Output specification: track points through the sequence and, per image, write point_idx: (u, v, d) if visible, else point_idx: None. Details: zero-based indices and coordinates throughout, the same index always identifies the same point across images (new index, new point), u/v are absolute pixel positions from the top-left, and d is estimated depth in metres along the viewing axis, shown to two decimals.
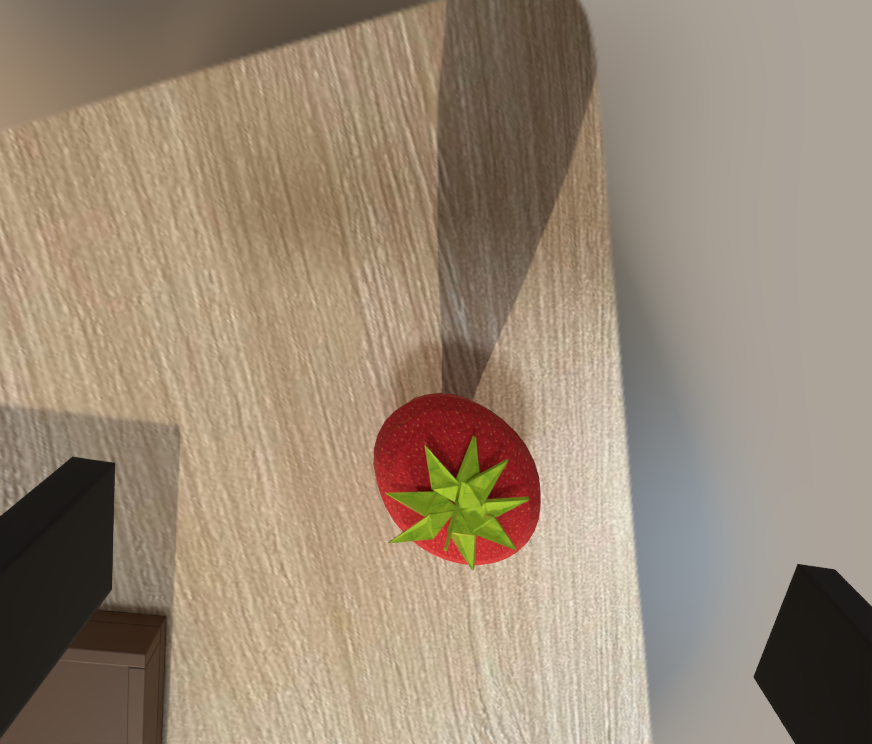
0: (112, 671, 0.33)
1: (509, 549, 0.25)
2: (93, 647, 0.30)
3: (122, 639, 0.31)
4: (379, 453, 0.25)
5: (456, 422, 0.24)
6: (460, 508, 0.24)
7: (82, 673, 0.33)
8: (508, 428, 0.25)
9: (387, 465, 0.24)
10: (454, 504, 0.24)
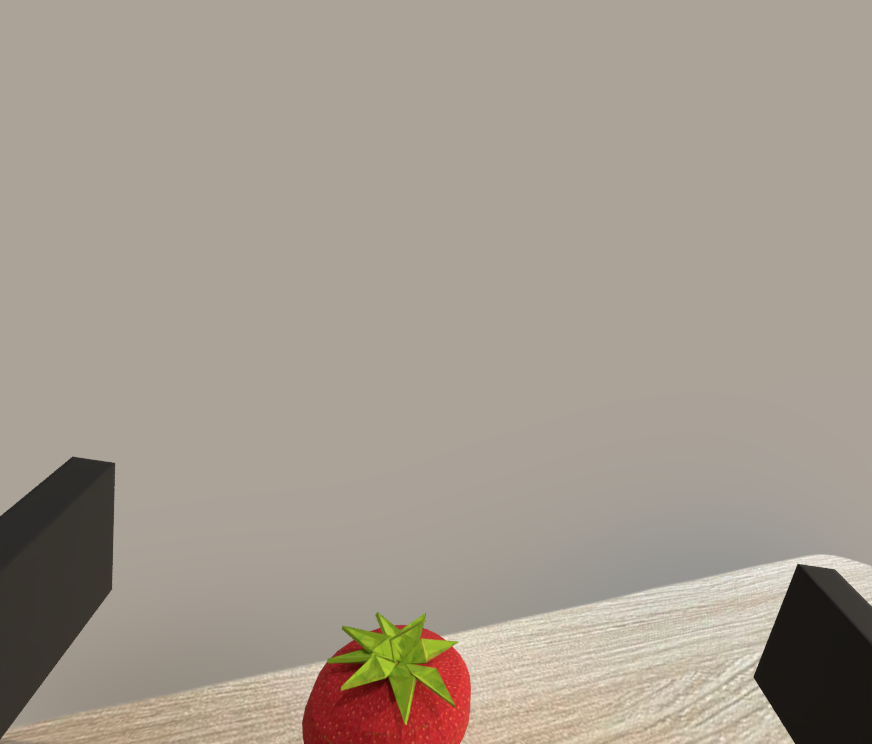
0: None
1: (436, 634, 0.27)
2: None
3: None
4: None
5: (320, 691, 0.24)
6: (401, 660, 0.25)
7: None
8: None
9: (380, 742, 0.22)
10: (398, 663, 0.24)
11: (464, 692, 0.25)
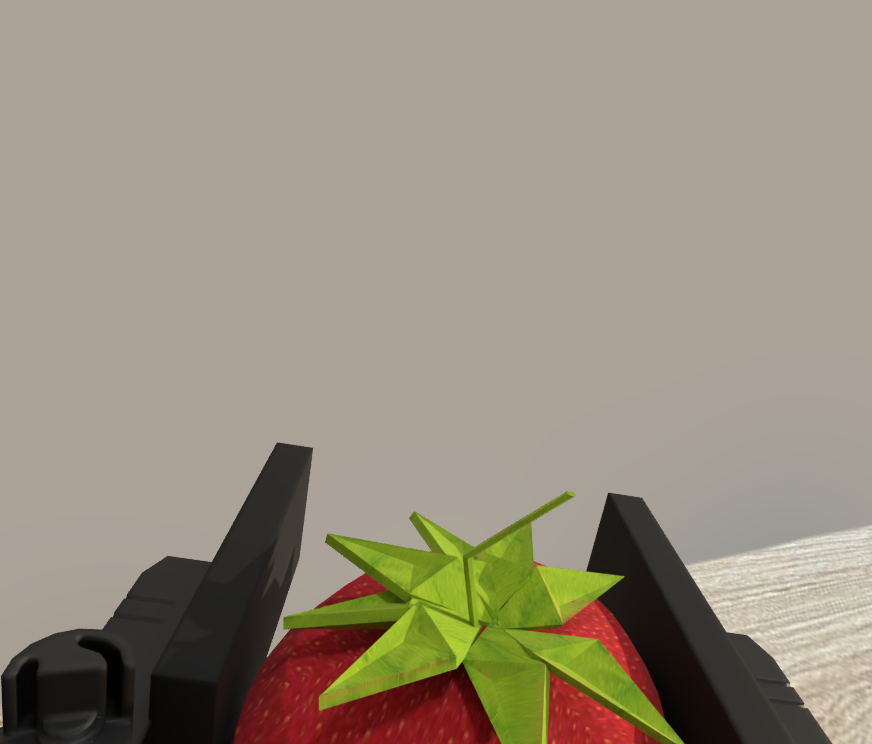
0: None
1: None
2: None
3: None
4: None
5: (262, 710, 0.08)
6: (490, 622, 0.09)
7: None
8: None
9: None
10: (484, 628, 0.09)
11: (655, 707, 0.09)
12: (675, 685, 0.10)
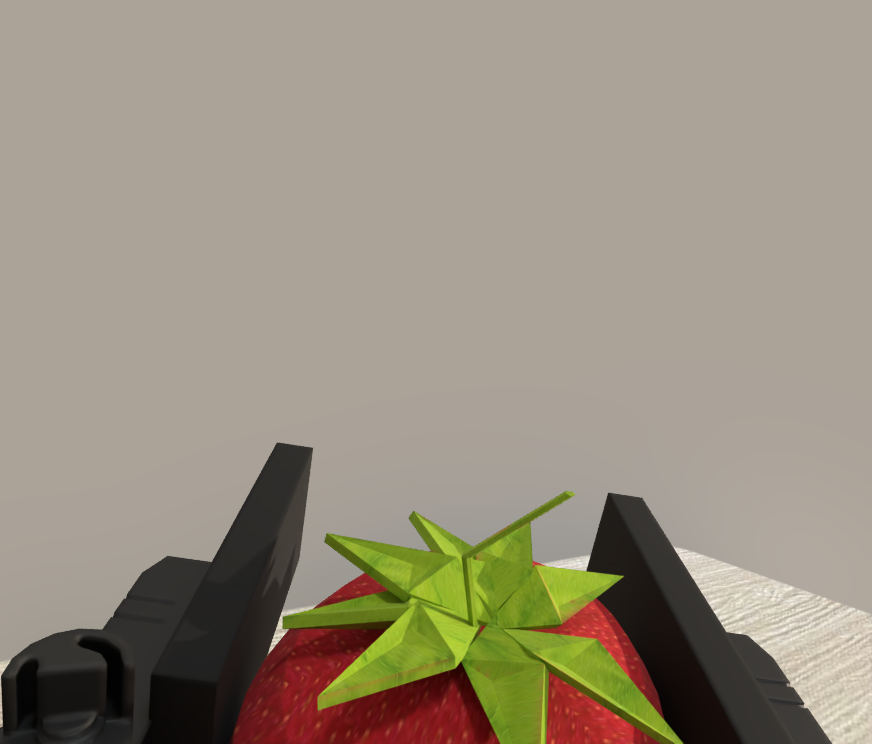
0: None
1: None
2: None
3: None
4: None
5: (261, 709, 0.08)
6: (489, 622, 0.09)
7: None
8: None
9: None
10: (484, 628, 0.09)
11: (654, 706, 0.09)
12: (675, 685, 0.10)
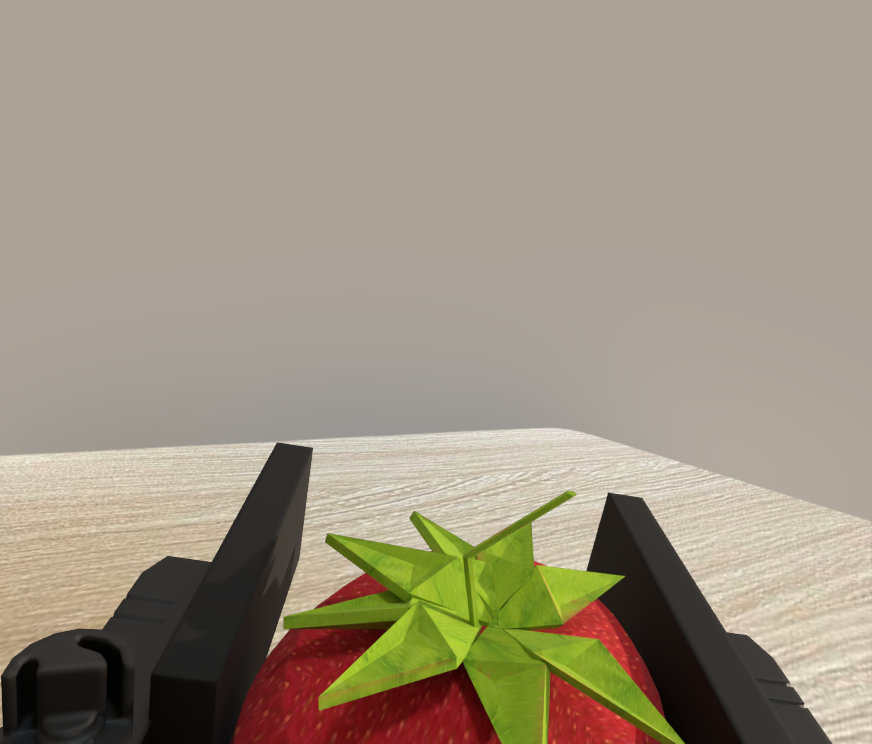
0: None
1: None
2: None
3: None
4: None
5: (262, 710, 0.08)
6: (491, 621, 0.09)
7: None
8: None
9: None
10: (485, 628, 0.09)
11: (656, 707, 0.09)
12: (675, 686, 0.10)
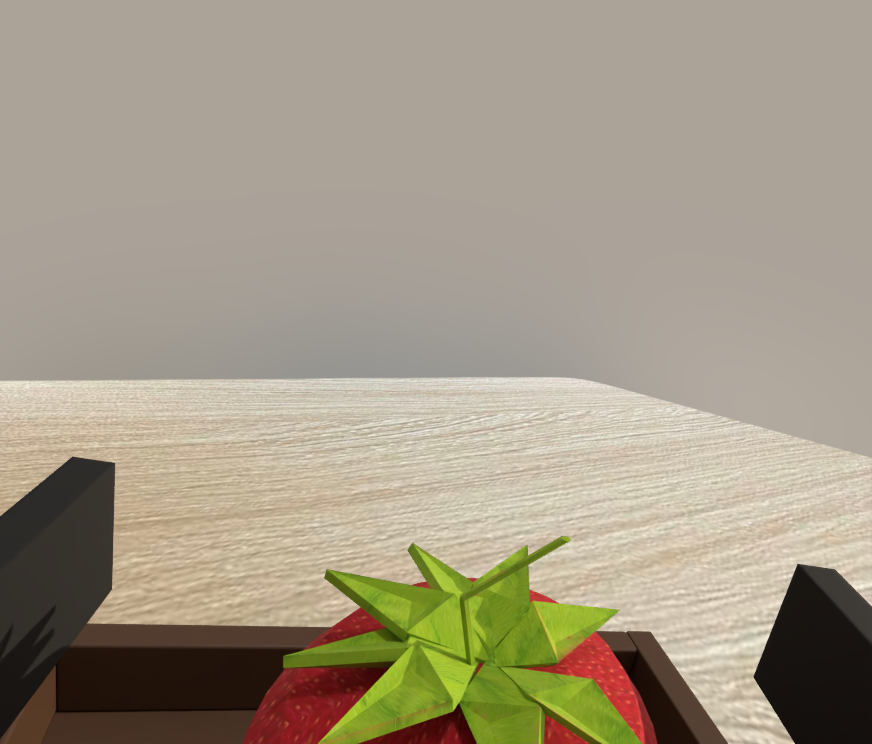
0: None
1: (546, 597, 0.12)
2: None
3: None
4: None
5: None
6: (486, 660, 0.09)
7: None
8: None
9: None
10: (481, 667, 0.09)
11: (650, 741, 0.09)
12: None
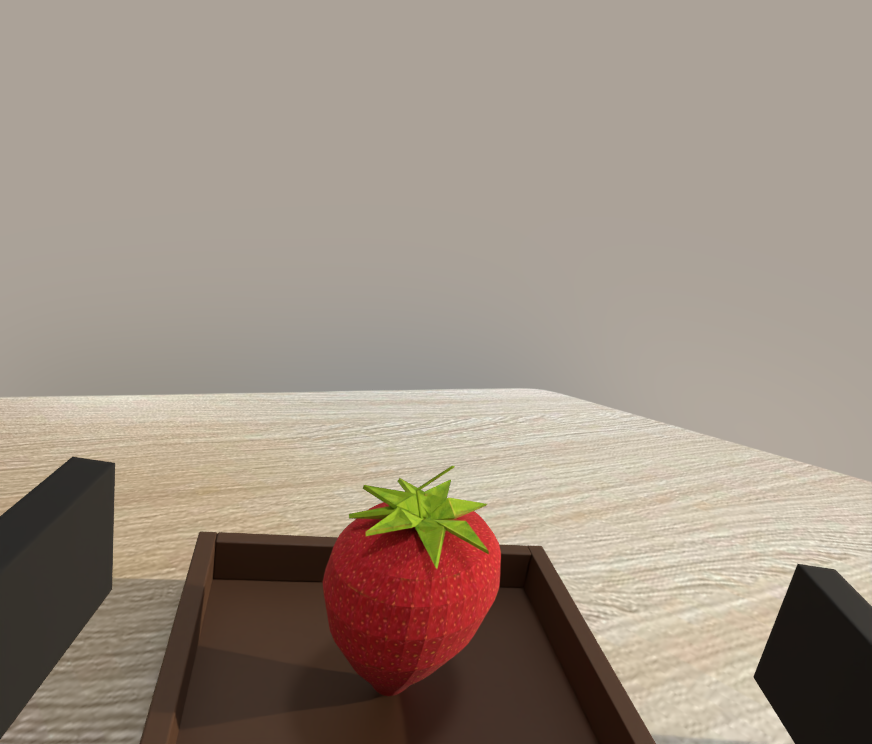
0: (258, 602, 0.29)
1: None
2: (190, 564, 0.28)
3: None
4: (401, 609, 0.20)
5: (342, 546, 0.22)
6: (427, 518, 0.23)
7: (262, 624, 0.28)
8: None
9: (408, 588, 0.20)
10: (425, 519, 0.23)
11: (495, 553, 0.23)
12: None
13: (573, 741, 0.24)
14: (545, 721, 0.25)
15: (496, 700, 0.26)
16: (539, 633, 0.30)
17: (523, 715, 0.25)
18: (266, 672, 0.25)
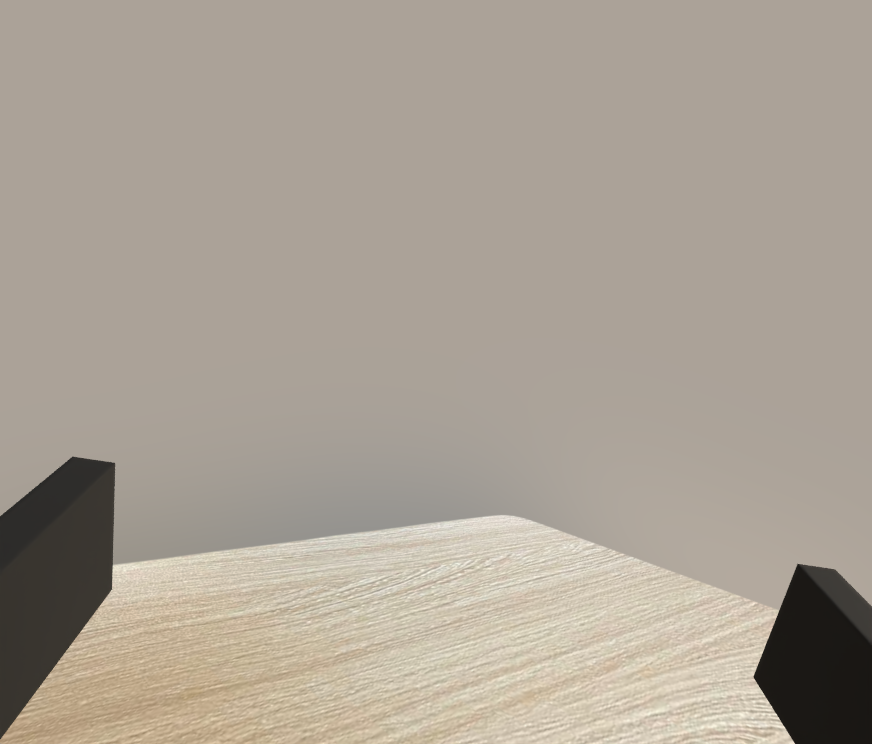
0: None
1: None
2: None
3: None
4: None
5: None
6: None
7: None
8: None
9: None
10: None
11: None
12: None
13: None
14: None
15: None
16: None
17: None
18: None
